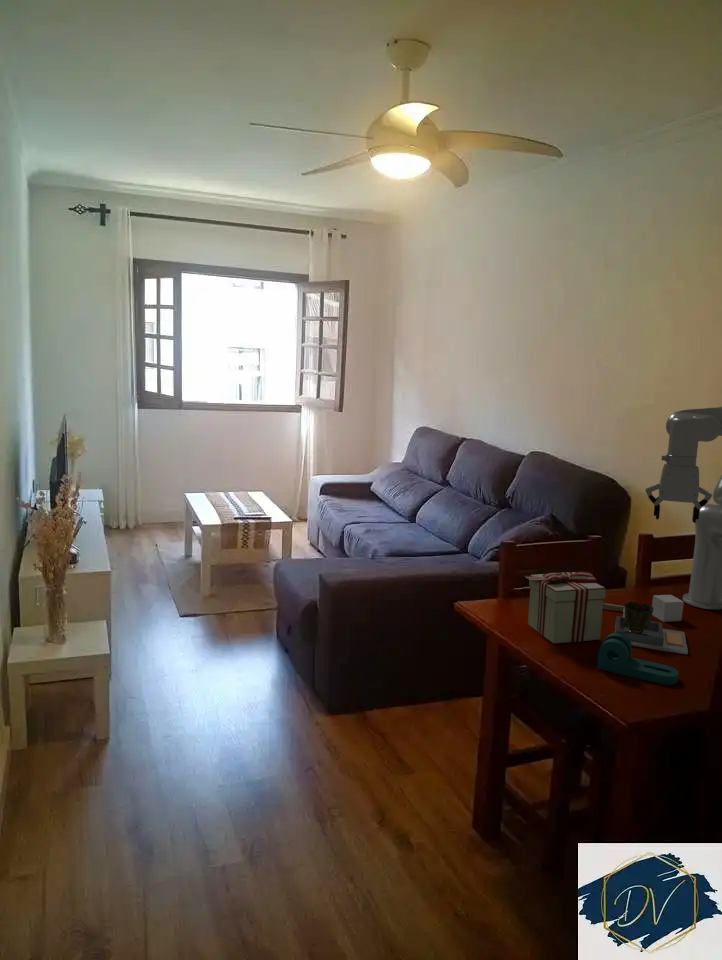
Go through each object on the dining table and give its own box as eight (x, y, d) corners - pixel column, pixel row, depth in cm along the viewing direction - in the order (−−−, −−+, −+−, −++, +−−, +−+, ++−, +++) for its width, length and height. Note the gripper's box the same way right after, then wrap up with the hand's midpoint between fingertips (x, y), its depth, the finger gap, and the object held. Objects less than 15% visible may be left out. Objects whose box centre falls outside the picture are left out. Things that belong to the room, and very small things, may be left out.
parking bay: (585, 605, 221) (585, 600, 220) (626, 611, 217) (627, 606, 216) (583, 618, 210) (583, 613, 209) (626, 625, 206) (627, 620, 205)
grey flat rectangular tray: (615, 624, 206) (616, 614, 205) (683, 635, 200) (685, 625, 199) (614, 642, 193) (615, 632, 192) (687, 654, 187) (688, 643, 186)
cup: (619, 634, 196) (622, 606, 194) (623, 626, 202) (626, 599, 201) (648, 640, 192) (651, 612, 191) (651, 631, 199) (655, 604, 197)
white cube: (668, 613, 217) (671, 594, 216) (681, 621, 211) (683, 601, 210) (650, 614, 215) (653, 595, 214) (663, 622, 210) (665, 602, 208)
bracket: (596, 669, 177) (600, 639, 175) (602, 659, 183) (605, 630, 181) (675, 688, 168) (679, 656, 167) (678, 677, 174) (682, 646, 173)
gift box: (563, 616, 211) (568, 559, 208) (604, 640, 194) (611, 579, 191) (513, 621, 205) (518, 563, 202) (551, 647, 188) (557, 584, 185)
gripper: (648, 461, 200) (643, 520, 204) (717, 465, 195) (710, 526, 198) (647, 456, 207) (642, 514, 211) (714, 460, 202) (707, 519, 205)
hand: (675, 519), depth 205 cm, fingers open, 9 cm apart
